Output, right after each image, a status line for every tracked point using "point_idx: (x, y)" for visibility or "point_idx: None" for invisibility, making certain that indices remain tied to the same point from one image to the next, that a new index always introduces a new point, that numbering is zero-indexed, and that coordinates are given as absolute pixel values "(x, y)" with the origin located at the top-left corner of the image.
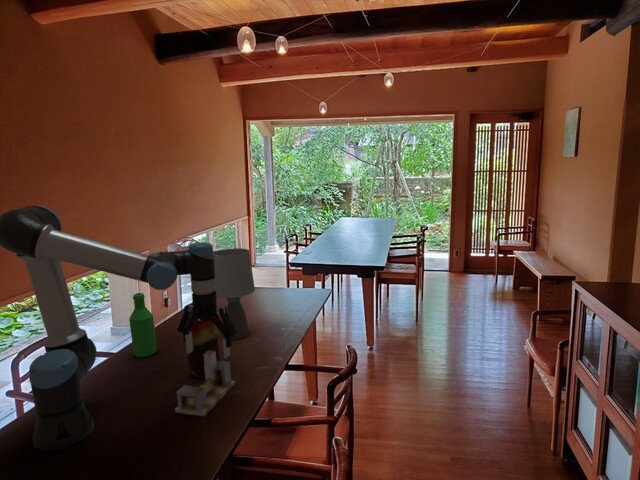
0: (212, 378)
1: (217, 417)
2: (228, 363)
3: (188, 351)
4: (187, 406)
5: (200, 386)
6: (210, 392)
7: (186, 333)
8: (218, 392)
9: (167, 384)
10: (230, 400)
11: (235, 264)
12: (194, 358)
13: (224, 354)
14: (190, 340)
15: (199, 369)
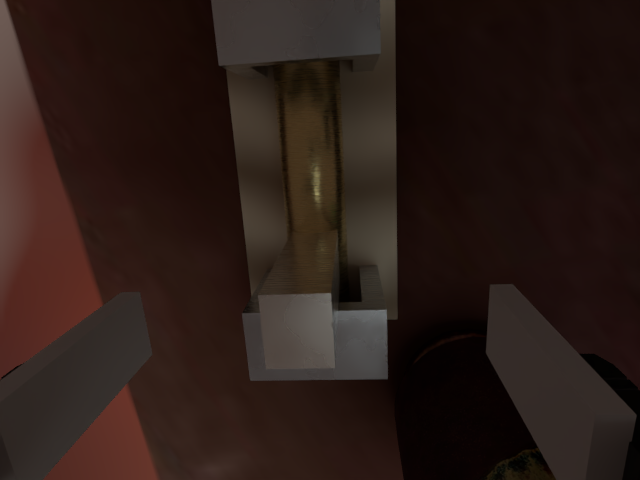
0: (293, 235)
1: (159, 25)
2: (249, 365)
3: (498, 294)
4: None
5: (314, 140)
6: None
7: (637, 454)
8: (266, 207)
9: (599, 239)
10: (193, 181)
11: None
12: None
13: (116, 306)
14: (534, 399)
15: (462, 346)
